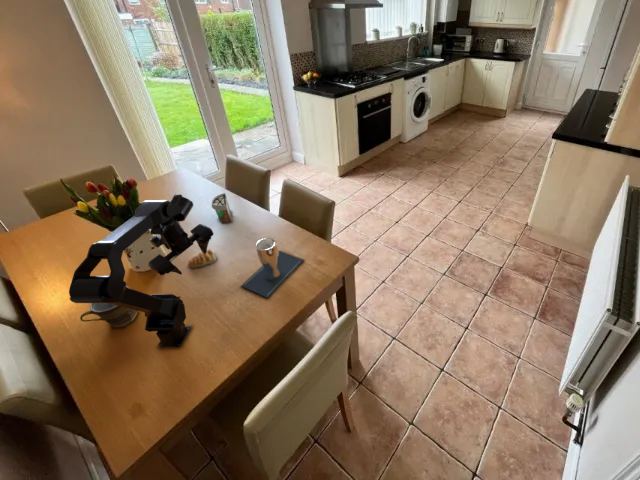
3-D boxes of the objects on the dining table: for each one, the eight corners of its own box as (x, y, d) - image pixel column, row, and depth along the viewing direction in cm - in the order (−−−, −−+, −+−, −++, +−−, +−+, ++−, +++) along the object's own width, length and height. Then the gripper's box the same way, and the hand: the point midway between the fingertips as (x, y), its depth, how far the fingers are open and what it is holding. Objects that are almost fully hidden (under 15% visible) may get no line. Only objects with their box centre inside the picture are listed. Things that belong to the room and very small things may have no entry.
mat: (267, 298, 108) (267, 297, 108) (241, 286, 112) (241, 285, 112) (303, 260, 124) (303, 259, 123) (279, 251, 128) (279, 250, 128)
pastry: (191, 272, 118) (187, 265, 116) (187, 262, 122) (184, 255, 120) (217, 261, 123) (214, 254, 121) (213, 252, 127) (210, 245, 125)
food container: (216, 212, 150) (210, 195, 145) (230, 209, 152) (225, 192, 147) (216, 227, 141) (210, 209, 136) (231, 224, 143) (225, 206, 138)
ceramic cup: (137, 300, 107) (124, 280, 102) (147, 316, 102) (134, 296, 96) (89, 326, 99) (72, 306, 93) (98, 346, 93) (81, 325, 88)
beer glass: (260, 273, 117) (252, 242, 109) (278, 264, 121) (271, 234, 113) (268, 284, 113) (259, 253, 105) (286, 275, 116) (279, 244, 108)
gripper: (182, 204, 104) (200, 235, 114) (125, 244, 91) (151, 274, 102) (205, 216, 100) (222, 247, 110) (148, 259, 88) (173, 289, 98)
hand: (193, 263), depth 105 cm, fingers open, 9 cm apart
